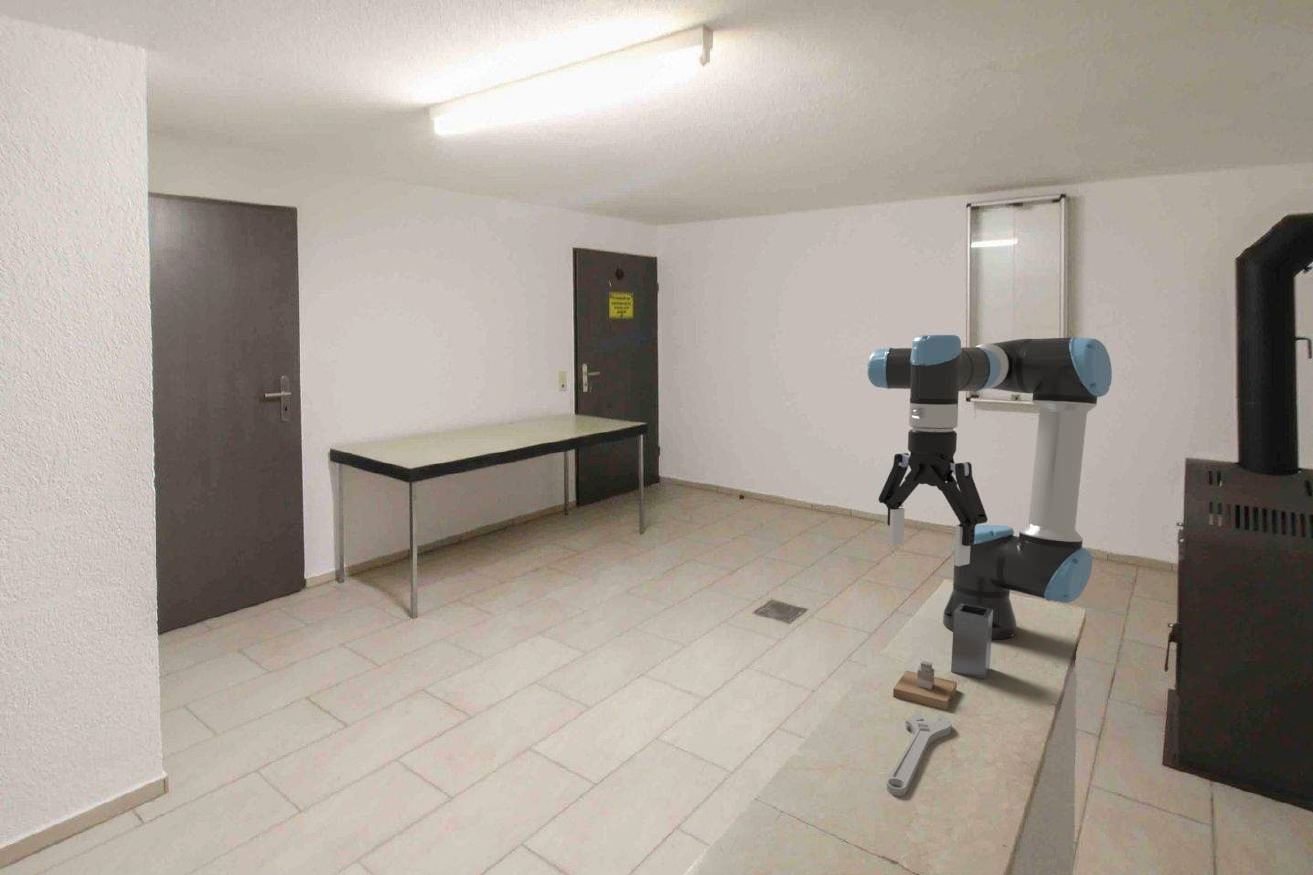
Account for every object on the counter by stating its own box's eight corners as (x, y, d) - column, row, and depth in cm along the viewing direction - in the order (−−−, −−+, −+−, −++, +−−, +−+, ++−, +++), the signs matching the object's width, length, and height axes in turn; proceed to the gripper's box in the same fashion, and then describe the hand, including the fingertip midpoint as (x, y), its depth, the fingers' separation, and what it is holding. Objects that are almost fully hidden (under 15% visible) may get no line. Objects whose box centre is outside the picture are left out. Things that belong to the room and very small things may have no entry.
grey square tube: (957, 661, 145) (960, 602, 143) (989, 668, 141) (993, 608, 140) (951, 671, 140) (954, 611, 138) (984, 679, 136) (988, 617, 135)
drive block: (905, 680, 137) (907, 648, 136) (956, 692, 132) (957, 659, 131) (893, 698, 129) (894, 665, 128) (946, 712, 124) (947, 677, 124)
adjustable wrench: (903, 801, 99) (904, 789, 99) (858, 785, 103) (858, 773, 103) (954, 727, 119) (955, 717, 119) (915, 716, 123) (915, 706, 123)
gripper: (860, 424, 128) (857, 540, 131) (984, 437, 107) (977, 577, 109) (890, 422, 132) (887, 535, 134) (1016, 434, 110) (1009, 570, 113)
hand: (927, 554), depth 122 cm, fingers open, 13 cm apart
